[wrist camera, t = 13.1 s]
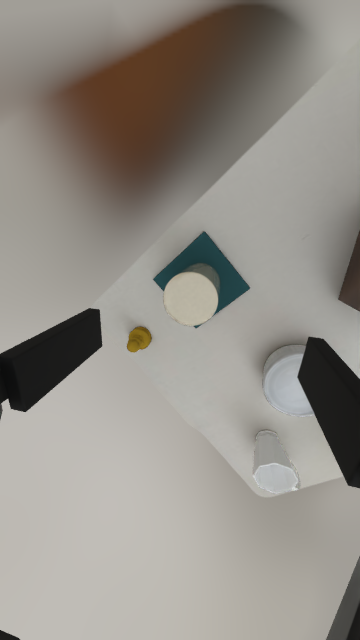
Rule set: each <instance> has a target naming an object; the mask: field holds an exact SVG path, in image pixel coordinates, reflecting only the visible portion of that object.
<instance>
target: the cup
mask: <svg viewBox="0 0 360 640" xmlns="http://www.w3.org/2000/svg"><path fill="white" fill-rule="evenodd" d="M253 478H254V479H255V481H256V483H257V485H258V486H259V488H262V489H264V490H267V491H269V492H272V493H274V494H276V493H282V492H289V491H292V490H294V491H296V490H298V489H299V488H300V479H299V475H298V473H297V471H296V468H295V467H294V465H293V464H292V462H291V461H290V459H289V458H288V456H287V454H286V452H285V450H284V448H283V446H282V444H281V443H280V440H279V438H278V436H277V434H276V433H275V432H272V431H270V430H264V431H260V432H258V434H257V436H256V444H255V449H254V462H253ZM295 485H296V486H295Z"/></svg>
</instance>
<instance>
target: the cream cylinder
mask: <svg viewBox="0 0 360 640" xmlns="http://www.w3.org/2000/svg"><path fill="white" fill-rule="evenodd" d="M220 286H221V282H220V277H219V275H218V273H217V271H216V270H215V269H214V268H213V267H211V266H210V265H208V264H204V263H195V264H192V265H190V266H188V267H187V268H185V269H184V270H183V271H181V272H180V273H179V274H177V275H176V276H174V277H173V278H172V279H171V280H170V281H169V282H168V284H167V285H166V287H165V290H164V294H163V301H164V306H165V309H166V311H167V312H168V314H169V315H170V316H171V317H172V318H173V319H174V320H175V321H177V322H178V323H181V324H183V325H188V326H195V325H200V324H203V323H205V322H206V321H208V320H209V319H210V318H211V317H212V316H213V314H214V313H215V311H216V309H217V305H218V299H219V293H220Z"/></svg>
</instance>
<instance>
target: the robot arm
mask: <svg viewBox="0 0 360 640" xmlns="http://www.w3.org/2000/svg"><path fill="white" fill-rule="evenodd" d="M101 347H102V336H101V322H100V310H99V309H91V308H89V309H87V310H85V311H83V312H81V313H79V314H78V315H75V316H74V317H71V318H69V319H67V320H66V321H64V322H62V323H60V324H58V325H56V326H54V327H52V328H50V329H48V330H46V331H44V332H42V333H40V334H39V335H36V336H35V337H33V338H31V339H28V340H26V341H24V342H22V343H21V344H19V345H17V346H15V347H13V348H11V349H9V350H7V351H5V352H3V353H1V354H0V419H1V414H2V405H1V403H2V402H3V401H5V400H6V399H9V403H10V407H11V409H14V410H18V411H23V412H26V411H27V410H29V409H30V408H31V407H32V406H33V405H34V404H36V403H37V402H38V401H39V400H40V399H41V398H42V397H44V396H45V395H46V394H47V393H48V392H49V391H50V390H52V389H53V388H54V387H55V386H56V385H58V384H59V383H60V382H61V381H62V380H63V379H65V378H66V377H67V376H68V375H69V374H70V373H72V372H73V371H74V370H75V369H76V368H77V367H79V366H80V365H81V364H82V363H83V362H84V361H85V360H86V359H88V358H89V357H90V356H91V355H92V354H94V353H95V352H96V351H97V350H98V349H99V348H101ZM297 378H298V380H299V382H300V384H301V387H302V389H303V391H304V393H305V395H306V397H307V399H308V401H309V403H310V406H311V408H312V410H313V412H314V414H315V416H316V418H317V420H318V423H319V425H320V427H321V429H322V431H323V433H324V435H325V437H326V439H327V442H328V444H329V446H330V448H331V450H332V452H333V454H334V456H335V459H336V461H337V463H338V465H339V467H340V469H341V471H342V473H343V475H344V478H345V480H346V482H347V484H348V485H349V486H352V487H357V488H360V379H359V378H358V377H357V376H356V375H355V373H354V372H353V371H352V370H351V369H350V368H349V367H348V366H347V365H346V363H345V362H344V361H343V360H342V359H341V358H340V357H339V356H338V355H337V353H336V352H335V351H334V350H333V349H332V348H331V347H330V346H329V345H328V343H327V342H326V341H325V340H324V339H321V338H314V337H309V338H308V341H307V345H306V348H305V352H304V355H303V358H302V362H301V365H300V369H299V372H298V376H297ZM0 640H20V639H19V638H17V637H15V636H13V635H10V634H8V633H6V632H4V631H1V630H0ZM326 640H360V557H359V559H358V562H357V564H356V567H355V569H354V572H353V574H352V576H351V579H350V581H349V584H348V586H347V589H346V592H345V594H344V596H343V599H342V601H341V604H340V606H339V609H338V611H337V614H336V616H335V619H334V621H333V624H332V626H331V629H330V631H329V634H328V636H327V639H326Z"/></svg>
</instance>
